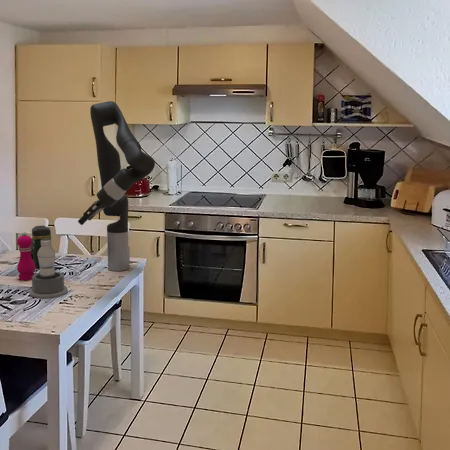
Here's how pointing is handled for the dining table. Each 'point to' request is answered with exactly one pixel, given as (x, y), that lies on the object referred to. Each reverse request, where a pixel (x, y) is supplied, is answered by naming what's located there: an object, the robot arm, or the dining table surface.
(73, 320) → the dining table surface
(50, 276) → the plastic bottle
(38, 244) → the coffee jar
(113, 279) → the dining table surface
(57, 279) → the bottle holder
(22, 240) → the pepper mill
